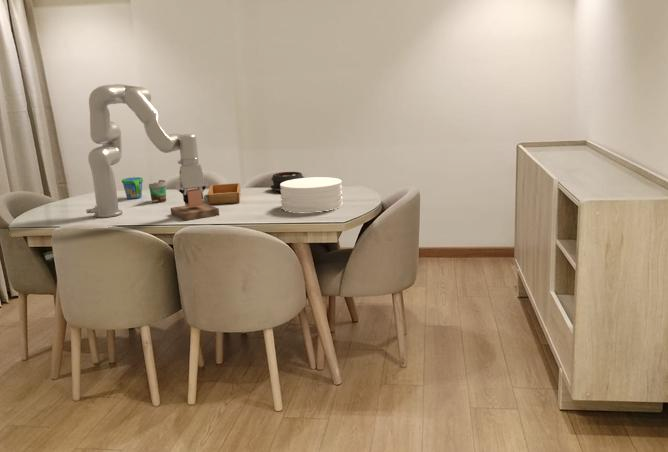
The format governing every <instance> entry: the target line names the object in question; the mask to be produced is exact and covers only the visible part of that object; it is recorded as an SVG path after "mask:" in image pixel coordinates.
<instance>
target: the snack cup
mask: <svg viewBox="0 0 668 452" xmlns="http://www.w3.org/2000/svg"><path fill="white" fill-rule="evenodd" d="M143 181H144V178H143V177H139V176H138V177H135V176H133V177H126V178H122V180H121V183H122V185H123V189H124V193H125V196H126V199H129V200H137V199H140V198H142V196H143V195H142V194H143Z"/></svg>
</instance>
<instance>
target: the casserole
mask: <svg viewBox="0 0 668 452" xmlns="http://www.w3.org/2000/svg"><path fill="white" fill-rule="evenodd" d="M300 178H305V176H303V174H302V172H298V171H283V172H276V173H274V174H273V175H272V177H271V181H272V185H271V186H270V189H272V190H273V191H276V192H277V191H278V192H281V189H282V188H281V187H280V184H281V183H282V182H284V181H288V180H293V179H300Z"/></svg>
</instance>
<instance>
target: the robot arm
mask: <svg viewBox="0 0 668 452" xmlns="http://www.w3.org/2000/svg"><path fill="white" fill-rule="evenodd" d="M151 100H152V95H151V93H150V91H149V90H148V89H147V88H146V87H143V86H135V85H134V86H133V85H128V84H127V85H126V84H106V85H105V84H104V85H101V86H98V87H96V88H95V89H93V90H92V91H91V92H90V94H89V97H88V106H89V129H90V130H89V132H90V134H89V135H90V138H91V140H92V142H93V143H94V144H97V145H101V144H102V145H101V146H97V147H94V148H92V149H91V150H90V152H89V153H88V155H87V157H88V164H89V168H90V170H91V174H92V182H93V188H94V190H93V191H94V197H95V205H94V207H92V208H88V209H87V208H86V210H85V212H86V214H93V215H94V217H96V218H112V217H116V216H120V215H122V214H123V210H121V209H119V201H118V195H117V193H118V191H117V186H116V178H115V173H114V171H113V168H112V166H114V165H116V164H118V163H119V162H120V161H121V159H122V132H121V129H120V126H119V125H118V124H117V123H116V122H114V121H111V117H110V116H111V115H110V110H109V107H108V106H109V105H117V104H125V105H126V106H127V107H128V108H129V109H130V110H131V111H132V113H133V114H134V116H135V117H137V118H138V120H139V121H140V122H141V124H142V125H143V127H144V131H145V134H146V135H147V137H148V140H150V142H151V143H152V145H154V146H155V148H157V149H158V150H159V151H160V152H162V153H164V154H169V153H172V152H176V151H179V154H180V160H177V164H178V165H180V166H179V174H178V175H179V181H178V183H177V184H176V185H175V187H174V188H175V189H176V190H177V191H178V192H179V193H181V194H182V199H183V202H184V204H185V203H186V204H188V195H187V190H188V189H195V188H197V189H200V190H201V193H202V200H204V191H205V189H206V188H207V187H208V186H209V182H208V181H207V180H206V179H204V173H203V168H202V165H201V164H200V163H199V155H198V144H197V142H198V141H197V136H196V134H194V133H182V134H181V133H179V134H178V133H170V134H166V132H165V131H164V129H162V127H161V125H160V124H159V121H158V120H159V116H160V114H159V111H158V109H157V108H156V107H155V106H154V105H153V104H152V102H151Z"/></svg>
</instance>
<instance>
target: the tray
mask: <svg viewBox="0 0 668 452" xmlns="http://www.w3.org/2000/svg"><path fill="white" fill-rule="evenodd" d="M240 192H241V182H237V183H221V184H211V185H210V186H209V189H208V191H207V195H206V197H207V204H208V205H211V206H213V205H224V204H225V205H227V204H238V203H240V199H241V193H240Z"/></svg>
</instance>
